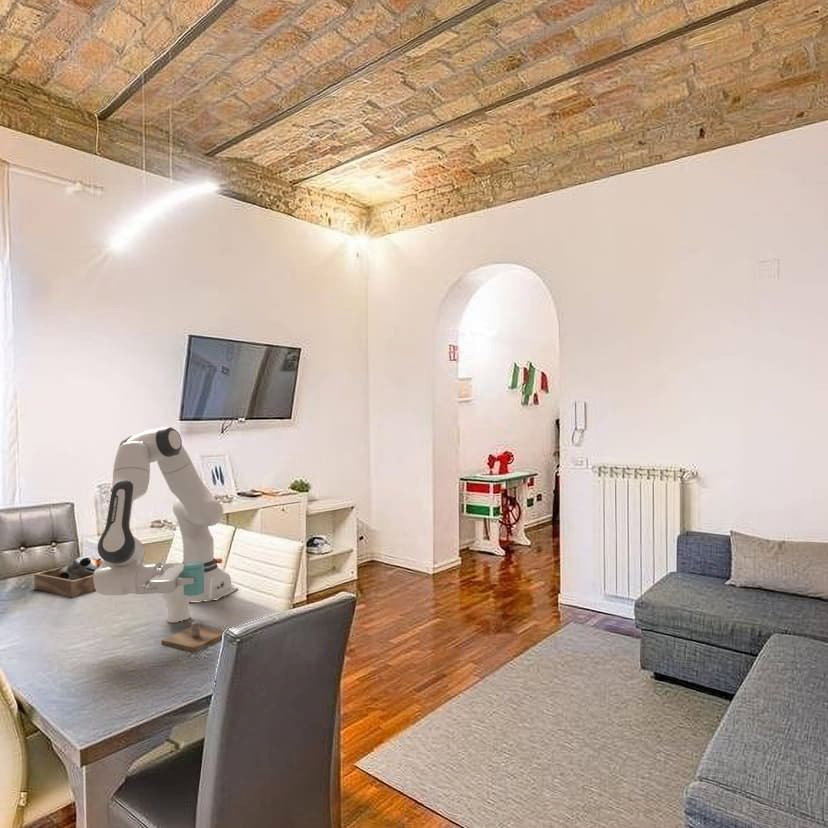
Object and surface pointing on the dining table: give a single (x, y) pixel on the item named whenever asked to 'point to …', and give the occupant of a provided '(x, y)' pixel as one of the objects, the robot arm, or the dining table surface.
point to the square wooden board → (193, 637)
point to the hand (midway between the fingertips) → (196, 576)
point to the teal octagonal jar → (198, 573)
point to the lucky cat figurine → (80, 568)
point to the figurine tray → (62, 583)
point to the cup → (177, 605)
